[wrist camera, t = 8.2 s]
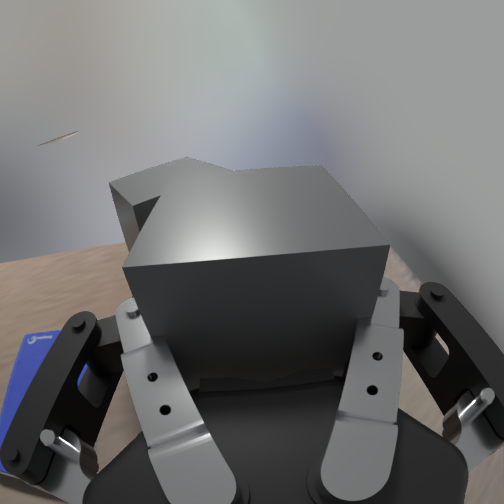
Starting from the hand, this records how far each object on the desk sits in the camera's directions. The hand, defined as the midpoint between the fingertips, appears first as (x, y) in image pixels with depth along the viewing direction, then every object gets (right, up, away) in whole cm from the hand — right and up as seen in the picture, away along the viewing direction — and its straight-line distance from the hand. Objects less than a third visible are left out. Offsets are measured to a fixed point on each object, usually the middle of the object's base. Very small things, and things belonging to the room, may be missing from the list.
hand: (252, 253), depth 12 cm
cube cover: (+1, -7, +2) cm, 7 cm away
